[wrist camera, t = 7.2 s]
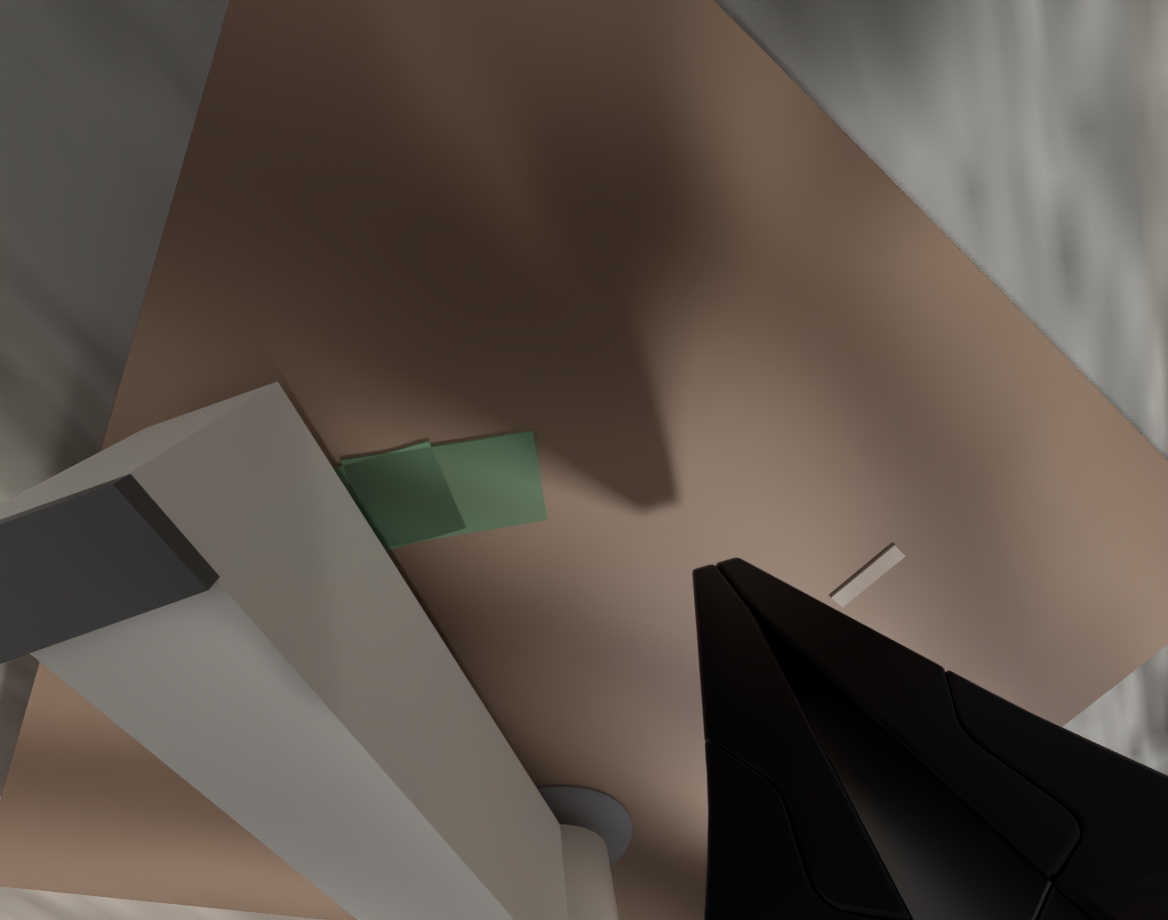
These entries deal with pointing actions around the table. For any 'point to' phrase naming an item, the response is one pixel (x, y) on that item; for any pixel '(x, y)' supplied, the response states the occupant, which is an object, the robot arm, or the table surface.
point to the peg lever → (285, 669)
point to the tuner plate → (598, 410)
